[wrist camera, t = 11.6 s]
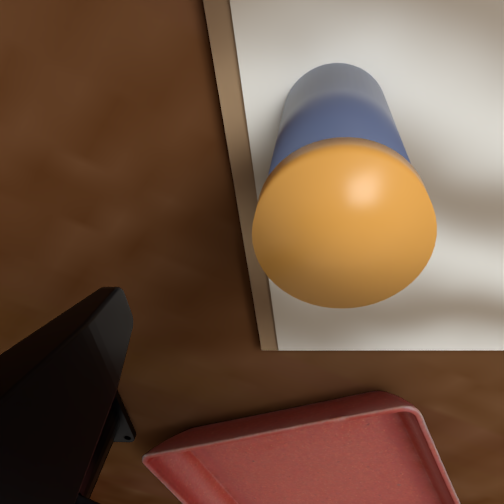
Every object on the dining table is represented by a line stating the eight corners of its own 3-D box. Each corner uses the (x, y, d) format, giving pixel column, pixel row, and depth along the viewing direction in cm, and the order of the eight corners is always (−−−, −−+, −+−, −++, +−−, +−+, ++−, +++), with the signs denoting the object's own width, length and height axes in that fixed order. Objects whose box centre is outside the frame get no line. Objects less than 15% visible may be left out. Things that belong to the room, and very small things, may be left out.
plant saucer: (474, 516, 35) (487, 565, 32) (260, 538, 41) (255, 580, 38) (407, 356, 26) (417, 405, 24) (150, 413, 33) (134, 457, 30)
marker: (387, 162, 19) (429, 307, 11) (285, 170, 20) (262, 309, 12) (391, 53, 17) (445, 146, 9) (275, 66, 17) (239, 162, 10)
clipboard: (547, 341, 24) (560, 365, 23) (262, 342, 27) (259, 363, 25) (700, -166, 13) (742, -178, 12) (193, -79, 16) (182, -80, 14)
